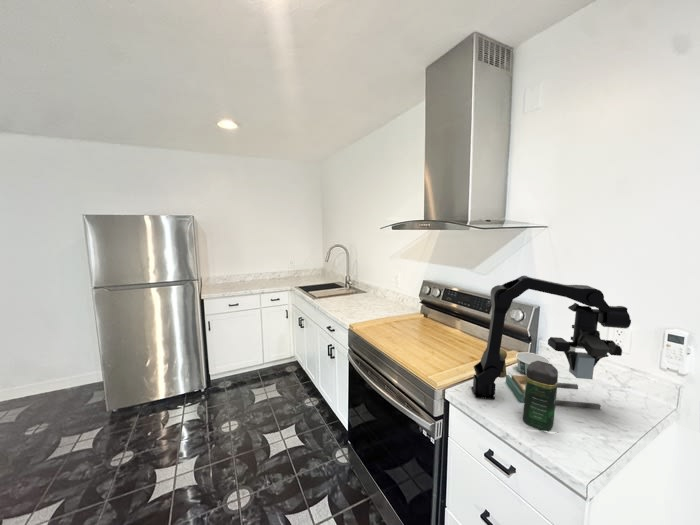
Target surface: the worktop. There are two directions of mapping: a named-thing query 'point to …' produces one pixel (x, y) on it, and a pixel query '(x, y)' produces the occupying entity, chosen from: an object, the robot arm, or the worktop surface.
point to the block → (583, 366)
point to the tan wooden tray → (520, 382)
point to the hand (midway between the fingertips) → (580, 370)
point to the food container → (528, 360)
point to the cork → (504, 364)
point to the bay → (521, 399)
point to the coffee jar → (540, 395)
